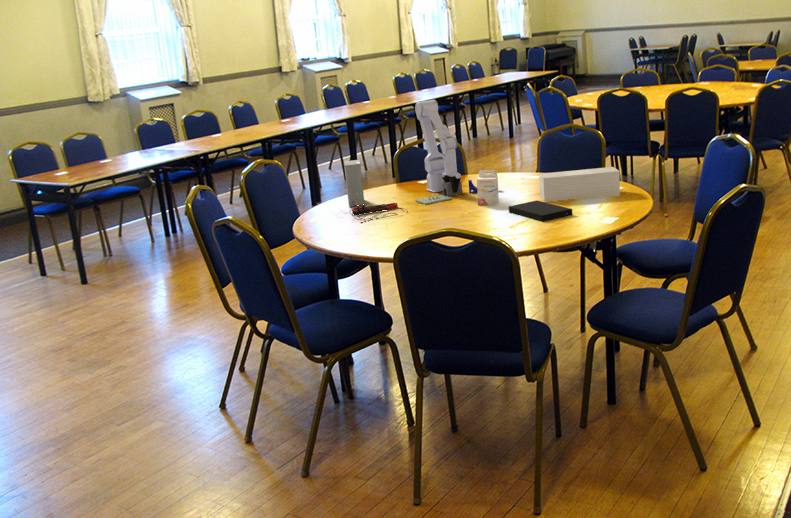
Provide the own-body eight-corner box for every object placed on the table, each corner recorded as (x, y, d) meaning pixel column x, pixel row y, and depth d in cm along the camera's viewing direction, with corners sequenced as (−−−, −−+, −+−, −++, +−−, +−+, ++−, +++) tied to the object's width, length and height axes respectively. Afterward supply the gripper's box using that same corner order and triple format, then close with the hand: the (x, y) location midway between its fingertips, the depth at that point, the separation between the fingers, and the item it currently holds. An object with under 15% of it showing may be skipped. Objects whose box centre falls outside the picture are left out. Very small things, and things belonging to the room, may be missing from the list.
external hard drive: (537, 207, 303) (537, 200, 302) (572, 216, 282) (572, 208, 281) (509, 213, 297) (508, 206, 296) (542, 223, 277) (542, 215, 276)
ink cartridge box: (477, 205, 315) (475, 172, 311) (480, 203, 320) (478, 170, 316) (497, 205, 312) (495, 171, 308) (499, 202, 317) (497, 169, 313)
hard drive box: (365, 205, 339) (360, 163, 334) (349, 207, 339) (343, 165, 333) (364, 199, 354) (359, 159, 349) (348, 201, 354) (343, 160, 348)
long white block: (544, 202, 309) (543, 178, 306) (540, 197, 319) (539, 173, 316) (619, 195, 307) (619, 170, 304) (613, 191, 317) (613, 166, 314)
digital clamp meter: (343, 206, 325) (395, 197, 331) (344, 215, 326) (396, 206, 332) (355, 215, 303) (411, 205, 309) (356, 225, 304) (412, 216, 311)
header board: (415, 201, 336) (414, 195, 336) (441, 196, 342) (440, 190, 341) (425, 204, 328) (424, 198, 327) (451, 199, 333) (451, 193, 332)
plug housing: (443, 195, 344) (442, 182, 343) (457, 192, 347) (456, 180, 346) (447, 196, 340) (446, 184, 338) (462, 193, 343) (461, 181, 342)
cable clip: (469, 194, 342) (468, 181, 340) (469, 192, 346) (468, 179, 344) (494, 191, 341) (494, 179, 339) (494, 190, 345) (493, 177, 343)
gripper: (435, 163, 344) (437, 191, 348) (450, 166, 332) (452, 195, 335) (448, 160, 347) (450, 188, 351) (463, 163, 334) (465, 192, 338)
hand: (452, 191), depth 343 cm, fingers closed on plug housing, 5 cm apart
